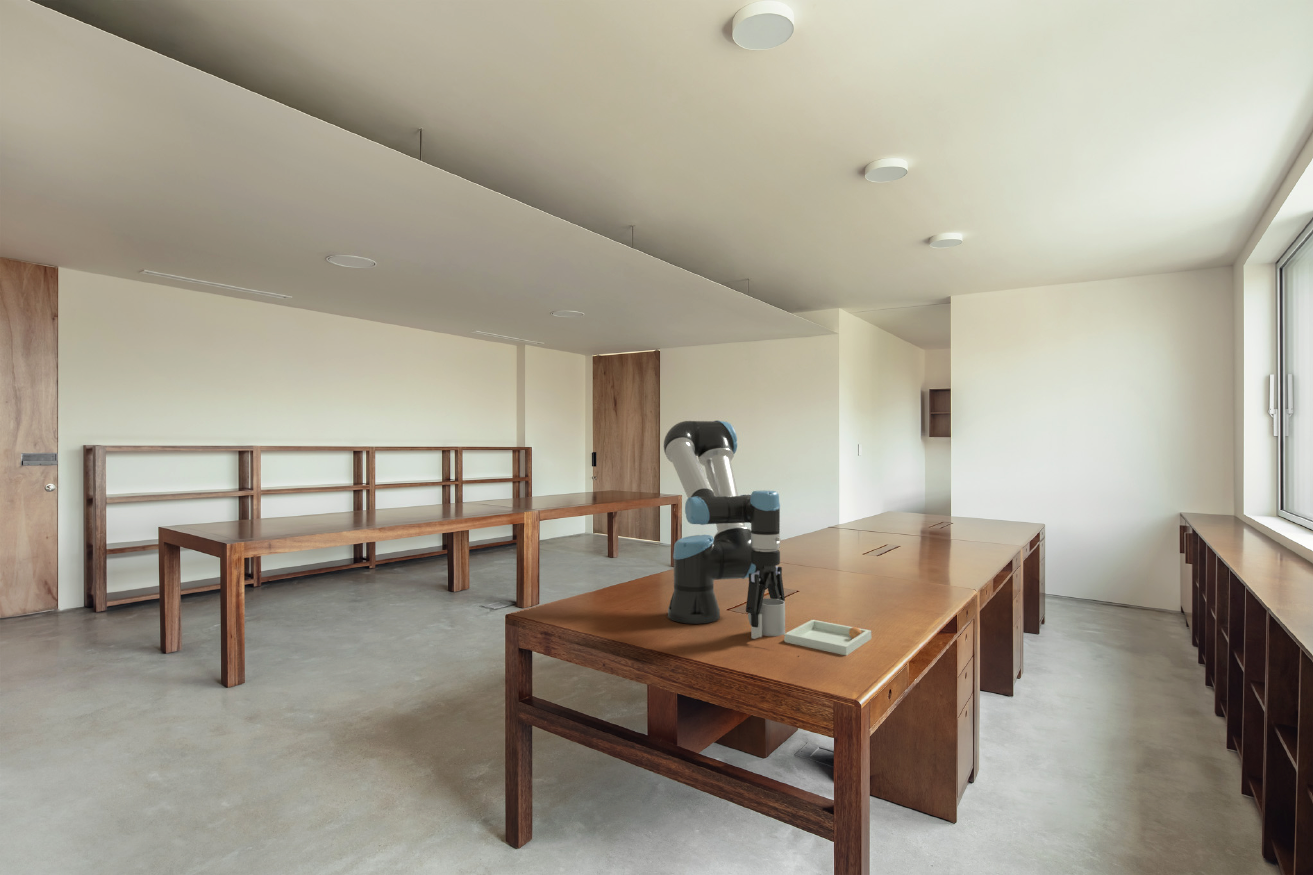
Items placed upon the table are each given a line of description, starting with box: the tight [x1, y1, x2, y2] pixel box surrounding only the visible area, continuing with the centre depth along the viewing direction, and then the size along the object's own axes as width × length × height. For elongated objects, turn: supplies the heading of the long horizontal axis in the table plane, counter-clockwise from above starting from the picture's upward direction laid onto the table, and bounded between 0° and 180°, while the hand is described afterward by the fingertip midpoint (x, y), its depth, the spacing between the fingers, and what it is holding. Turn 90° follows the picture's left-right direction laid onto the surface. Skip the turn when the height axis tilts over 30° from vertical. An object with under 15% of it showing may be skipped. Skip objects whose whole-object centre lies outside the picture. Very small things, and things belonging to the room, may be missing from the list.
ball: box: [849, 626, 861, 639], centre depth 155 cm, size 3×3×3 cm
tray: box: [783, 619, 872, 656], centre depth 154 cm, size 16×16×3 cm
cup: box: [747, 597, 786, 637], centre depth 162 cm, size 7×10×9 cm
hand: (766, 634), depth 162 cm, fingers open, 9 cm apart
